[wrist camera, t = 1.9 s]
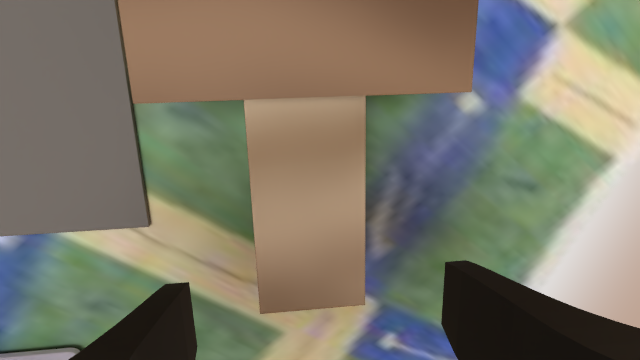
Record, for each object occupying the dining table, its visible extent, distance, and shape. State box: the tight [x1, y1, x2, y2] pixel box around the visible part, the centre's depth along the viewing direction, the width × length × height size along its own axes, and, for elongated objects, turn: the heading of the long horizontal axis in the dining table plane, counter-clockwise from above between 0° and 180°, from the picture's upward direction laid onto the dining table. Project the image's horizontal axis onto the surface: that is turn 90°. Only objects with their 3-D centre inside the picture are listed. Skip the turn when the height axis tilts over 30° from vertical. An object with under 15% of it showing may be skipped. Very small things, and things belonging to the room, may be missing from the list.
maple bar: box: [244, 96, 366, 314], centre depth 16 cm, size 12×4×5 cm, turn 2°
